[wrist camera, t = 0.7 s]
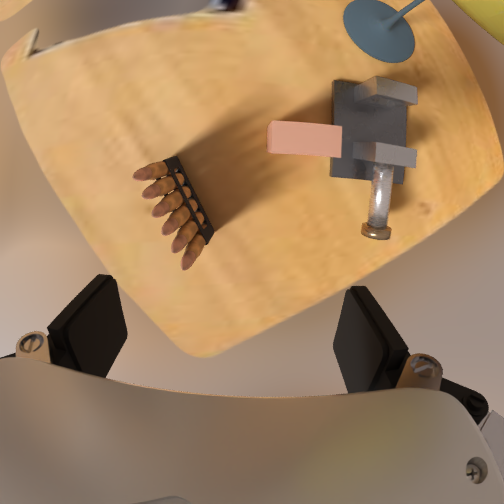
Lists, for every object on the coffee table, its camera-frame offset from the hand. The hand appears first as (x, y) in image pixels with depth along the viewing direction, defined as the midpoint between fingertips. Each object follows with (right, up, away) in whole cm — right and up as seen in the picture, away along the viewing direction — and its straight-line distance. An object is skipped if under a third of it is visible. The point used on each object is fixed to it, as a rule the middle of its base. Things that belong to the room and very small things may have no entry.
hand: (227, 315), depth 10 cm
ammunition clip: (-7, +9, +22) cm, 25 cm away
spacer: (+6, +15, +20) cm, 26 cm away
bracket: (+15, +17, +19) cm, 30 cm away
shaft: (+15, +9, +19) cm, 26 cm away
